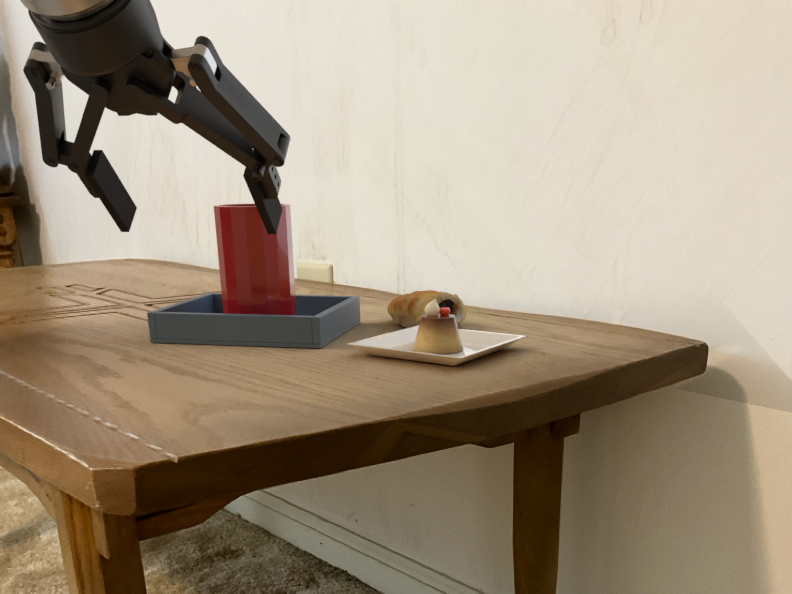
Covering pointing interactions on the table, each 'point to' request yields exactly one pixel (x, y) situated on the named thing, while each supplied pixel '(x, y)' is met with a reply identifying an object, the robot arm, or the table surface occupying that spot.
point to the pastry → (423, 306)
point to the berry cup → (254, 261)
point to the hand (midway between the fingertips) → (201, 221)
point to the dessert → (436, 340)
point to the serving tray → (255, 323)
